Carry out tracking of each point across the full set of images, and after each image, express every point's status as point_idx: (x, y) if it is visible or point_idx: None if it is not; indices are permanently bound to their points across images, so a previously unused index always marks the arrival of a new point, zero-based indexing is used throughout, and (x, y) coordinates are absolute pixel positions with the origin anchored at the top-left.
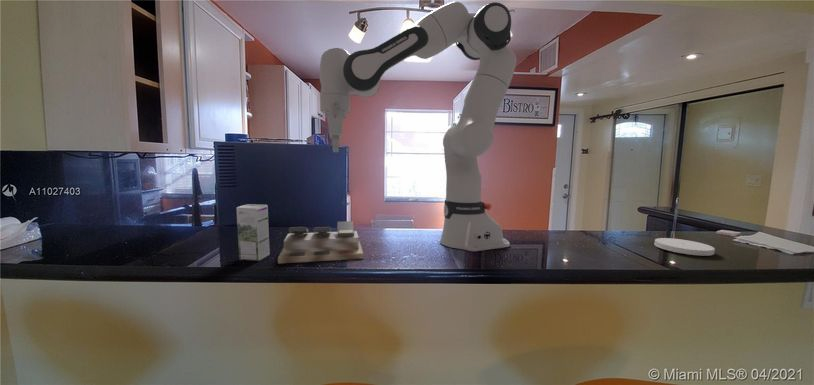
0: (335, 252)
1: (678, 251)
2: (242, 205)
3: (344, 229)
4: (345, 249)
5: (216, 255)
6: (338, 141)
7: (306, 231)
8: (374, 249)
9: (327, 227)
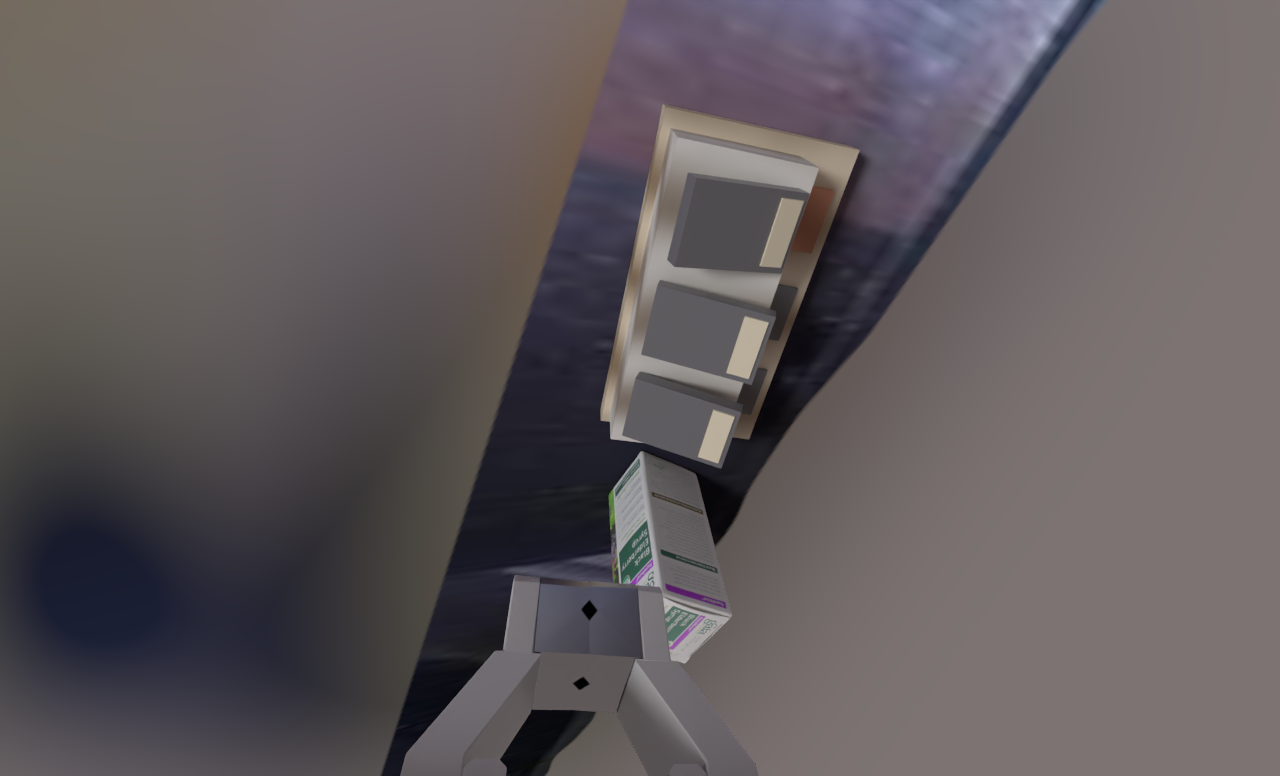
0: (787, 262)
1: None
2: None
3: (758, 237)
4: None
5: (589, 562)
6: (737, 750)
7: (714, 397)
8: (752, 41)
9: (770, 329)
